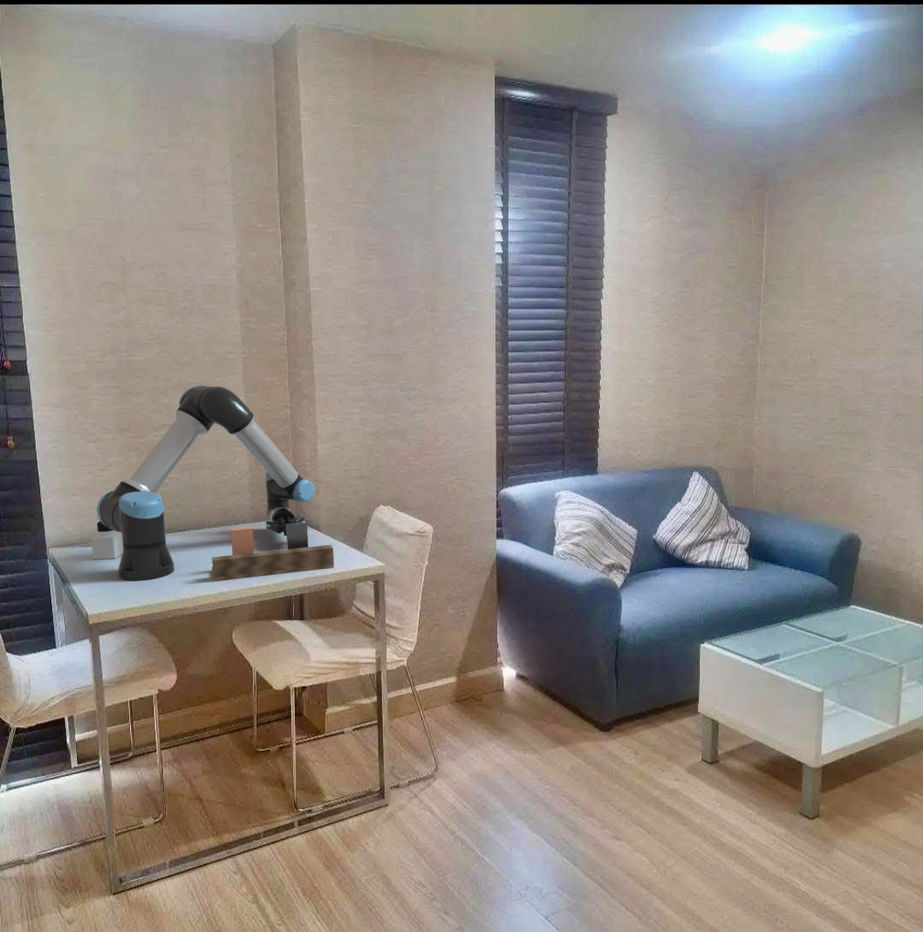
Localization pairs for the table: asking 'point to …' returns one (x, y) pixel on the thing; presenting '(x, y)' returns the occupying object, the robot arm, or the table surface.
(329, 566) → the brown piece
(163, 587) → the table surface
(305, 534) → the grey rectangular slab
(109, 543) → the medicine bottle
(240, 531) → the terracotta key
